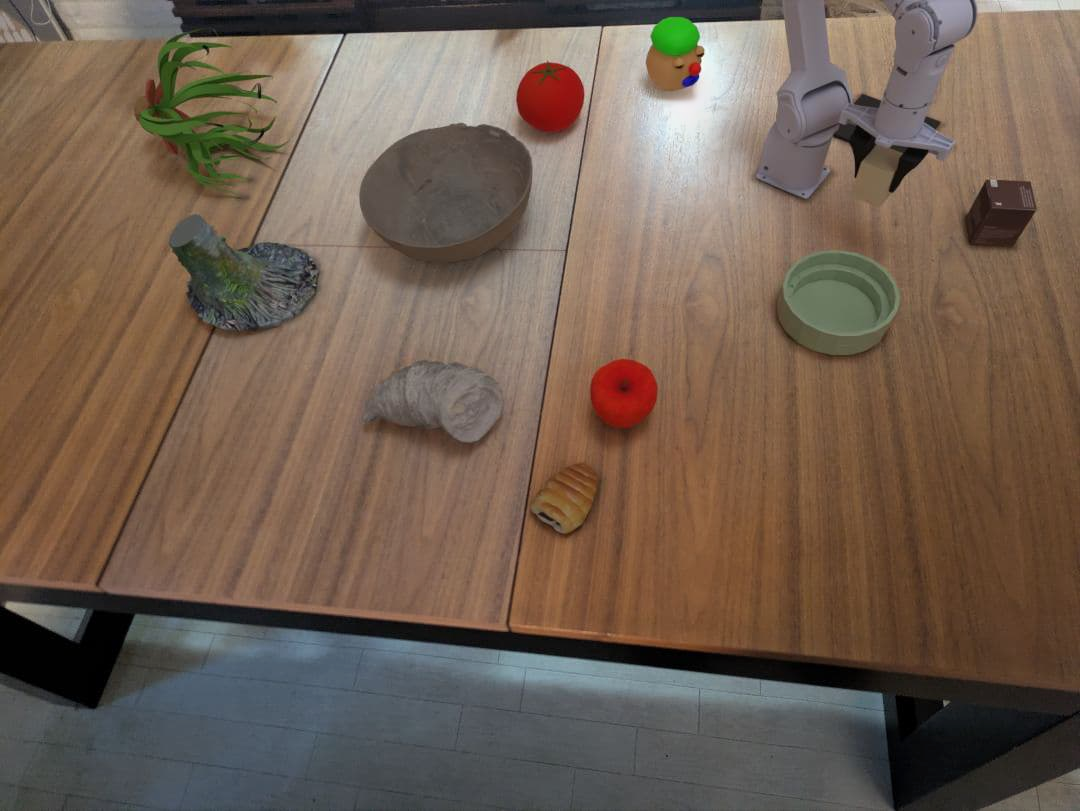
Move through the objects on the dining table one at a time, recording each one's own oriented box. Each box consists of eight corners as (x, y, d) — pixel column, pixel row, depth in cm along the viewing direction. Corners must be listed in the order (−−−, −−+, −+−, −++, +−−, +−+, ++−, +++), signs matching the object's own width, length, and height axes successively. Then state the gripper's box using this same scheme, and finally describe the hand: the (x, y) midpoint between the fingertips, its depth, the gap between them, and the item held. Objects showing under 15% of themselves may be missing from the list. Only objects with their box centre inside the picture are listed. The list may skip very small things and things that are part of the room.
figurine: (634, 85, 132) (636, 23, 122) (673, 63, 135) (677, 0, 124) (676, 113, 127) (681, 50, 117) (715, 89, 129) (723, 26, 119)
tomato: (596, 111, 130) (594, 57, 121) (561, 151, 125) (556, 99, 116) (544, 95, 134) (538, 42, 125) (509, 133, 129) (500, 81, 120)
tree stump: (318, 329, 110) (238, 260, 95) (212, 361, 115) (120, 301, 100) (324, 240, 118) (252, 163, 103) (226, 273, 124) (144, 205, 108)
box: (1013, 248, 104) (1038, 210, 98) (968, 245, 105) (990, 207, 99) (1007, 218, 107) (1031, 180, 101) (964, 215, 108) (985, 177, 102)
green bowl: (756, 323, 102) (762, 301, 97) (809, 258, 107) (817, 234, 103) (855, 375, 96) (866, 354, 91) (907, 304, 101) (919, 280, 97)
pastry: (568, 458, 93) (566, 445, 90) (612, 483, 91) (611, 471, 88) (527, 514, 90) (524, 503, 87) (571, 542, 87) (570, 531, 84)
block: (849, 195, 101) (861, 161, 96) (865, 177, 103) (877, 143, 98) (879, 208, 100) (893, 174, 95) (894, 189, 101) (908, 155, 96)
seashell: (363, 425, 99) (338, 387, 91) (434, 356, 104) (418, 314, 96) (443, 489, 93) (425, 454, 84) (516, 412, 98) (506, 372, 89)
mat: (827, 134, 120) (828, 131, 120) (861, 96, 124) (862, 93, 124) (906, 165, 115) (908, 162, 114) (939, 124, 119) (941, 121, 118)
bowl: (565, 187, 120) (560, 138, 111) (492, 307, 108) (481, 262, 100) (426, 154, 128) (412, 106, 120) (345, 261, 116) (323, 216, 108)
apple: (636, 452, 93) (637, 423, 86) (578, 424, 96) (575, 394, 89) (667, 401, 96) (670, 369, 90) (610, 376, 99) (610, 343, 93)
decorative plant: (193, 140, 146) (326, 139, 140) (122, 205, 129) (270, 208, 123) (127, 2, 127) (277, -5, 121) (35, 58, 111) (204, 53, 105)
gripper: (838, 92, 90) (814, 177, 101) (952, 132, 84) (913, 218, 95) (865, 64, 92) (839, 150, 104) (977, 101, 86) (936, 188, 98)
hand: (876, 181), depth 100 cm, fingers closed on block, 4 cm apart
